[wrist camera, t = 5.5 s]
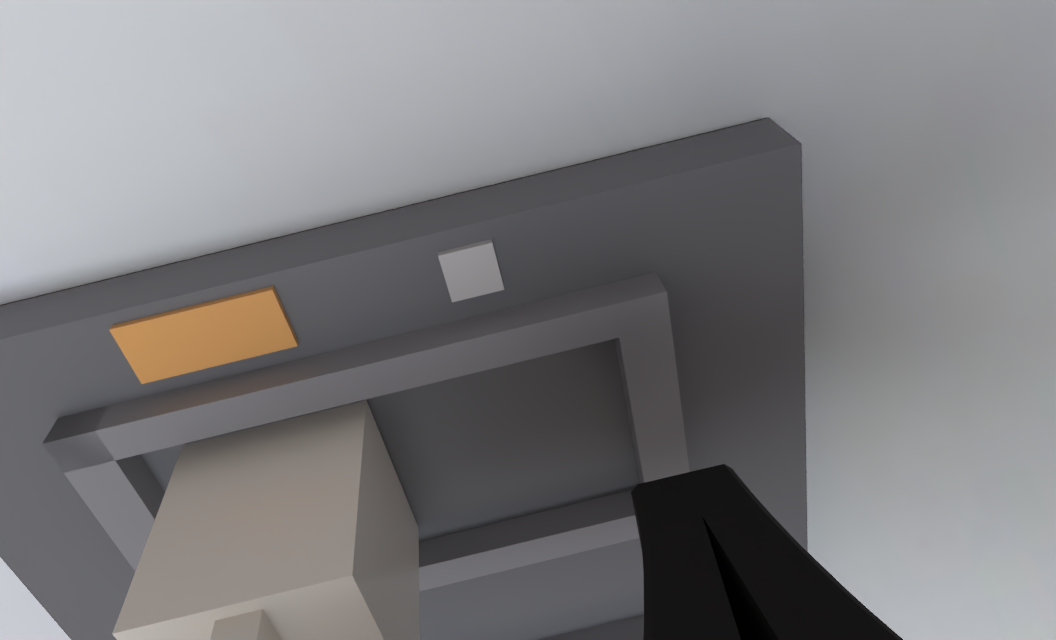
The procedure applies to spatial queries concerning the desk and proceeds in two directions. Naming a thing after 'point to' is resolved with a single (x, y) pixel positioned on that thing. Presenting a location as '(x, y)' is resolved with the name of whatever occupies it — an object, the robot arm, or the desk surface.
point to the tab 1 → (281, 539)
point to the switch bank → (442, 380)
